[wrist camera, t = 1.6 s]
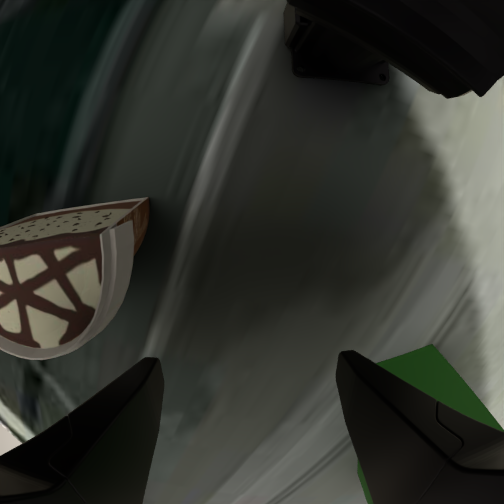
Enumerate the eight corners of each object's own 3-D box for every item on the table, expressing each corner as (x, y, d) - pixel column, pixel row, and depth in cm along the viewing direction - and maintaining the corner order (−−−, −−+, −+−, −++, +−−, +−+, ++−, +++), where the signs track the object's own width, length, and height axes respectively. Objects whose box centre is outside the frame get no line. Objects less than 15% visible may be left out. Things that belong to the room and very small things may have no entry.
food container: (39, 291, 22) (-35, 358, 12) (21, 216, 20) (-70, 257, 10) (182, 284, 22) (148, 376, 12) (171, 194, 20) (114, 232, 10)
